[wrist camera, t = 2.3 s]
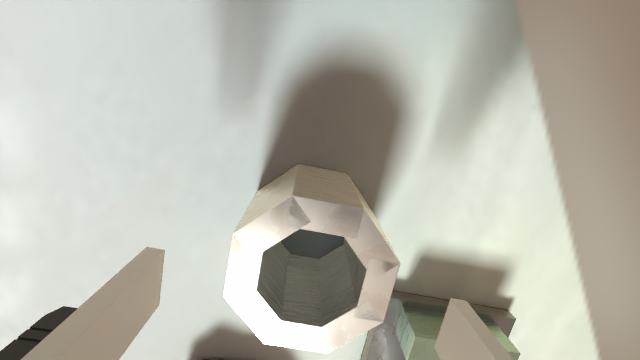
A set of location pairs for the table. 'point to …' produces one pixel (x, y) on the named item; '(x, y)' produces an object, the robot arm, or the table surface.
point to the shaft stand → (425, 328)
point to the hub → (310, 263)
